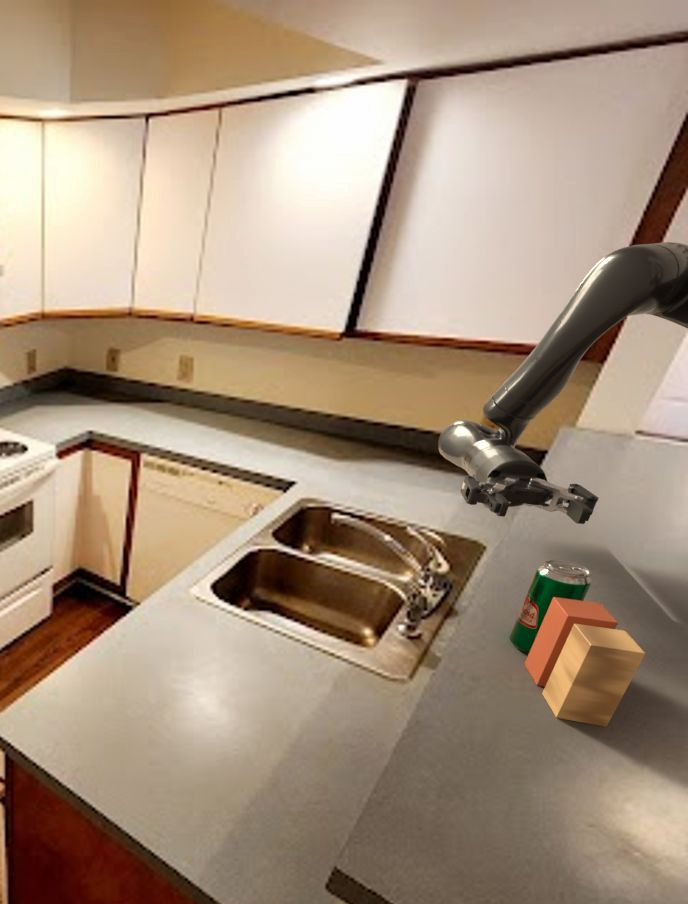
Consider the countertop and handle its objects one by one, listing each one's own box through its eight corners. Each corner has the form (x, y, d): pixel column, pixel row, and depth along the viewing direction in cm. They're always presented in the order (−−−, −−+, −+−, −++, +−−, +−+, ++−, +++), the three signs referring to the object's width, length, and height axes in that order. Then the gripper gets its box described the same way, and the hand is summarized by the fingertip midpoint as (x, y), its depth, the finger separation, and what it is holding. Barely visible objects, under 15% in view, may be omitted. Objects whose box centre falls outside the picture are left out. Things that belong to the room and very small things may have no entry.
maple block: (589, 702, 72) (625, 630, 68) (606, 727, 68) (646, 653, 64) (541, 693, 74) (573, 623, 69) (556, 717, 70) (591, 645, 66)
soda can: (503, 633, 84) (535, 555, 79) (551, 641, 82) (586, 562, 77) (513, 653, 80) (547, 573, 75) (563, 663, 78) (602, 580, 73)
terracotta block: (568, 671, 77) (600, 602, 72) (583, 693, 73) (618, 622, 69) (524, 664, 78) (553, 596, 74) (536, 685, 75) (568, 615, 70)
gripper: (456, 448, 98) (487, 482, 85) (571, 455, 93) (623, 493, 79) (443, 492, 101) (470, 532, 88) (553, 501, 96) (600, 545, 83)
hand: (543, 513), depth 84 cm, fingers open, 8 cm apart
